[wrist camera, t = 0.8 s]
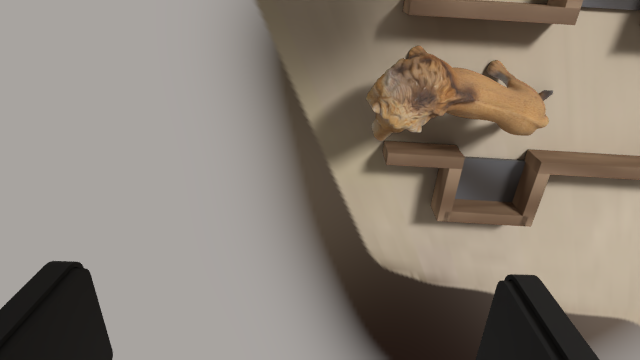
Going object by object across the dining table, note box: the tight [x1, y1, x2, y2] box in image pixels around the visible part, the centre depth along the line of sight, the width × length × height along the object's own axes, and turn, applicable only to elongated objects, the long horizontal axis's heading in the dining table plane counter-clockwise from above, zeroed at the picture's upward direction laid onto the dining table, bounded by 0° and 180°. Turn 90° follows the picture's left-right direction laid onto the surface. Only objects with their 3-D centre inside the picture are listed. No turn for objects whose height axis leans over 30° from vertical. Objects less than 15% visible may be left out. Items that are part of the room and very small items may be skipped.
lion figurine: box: [366, 46, 553, 141], centre depth 27 cm, size 15×5×9 cm, turn 86°
